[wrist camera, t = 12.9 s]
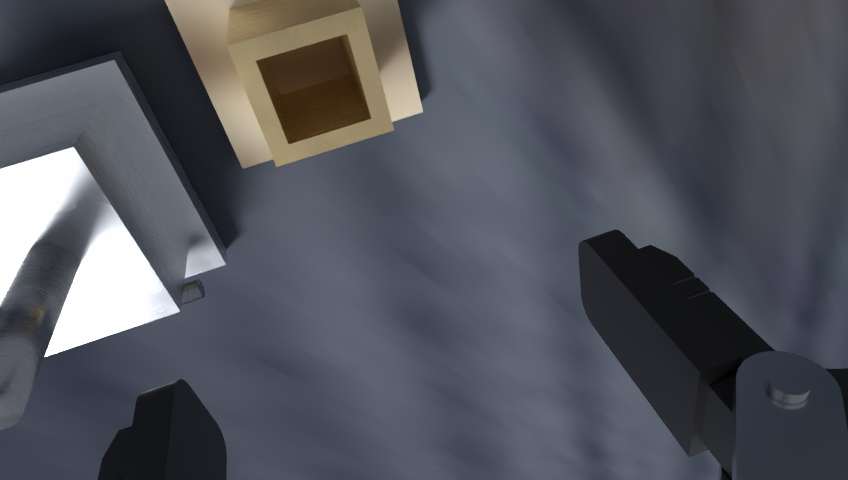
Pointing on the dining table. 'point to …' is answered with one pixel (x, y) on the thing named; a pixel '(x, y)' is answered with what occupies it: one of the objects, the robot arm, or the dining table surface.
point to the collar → (317, 104)
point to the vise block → (89, 218)
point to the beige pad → (289, 66)
